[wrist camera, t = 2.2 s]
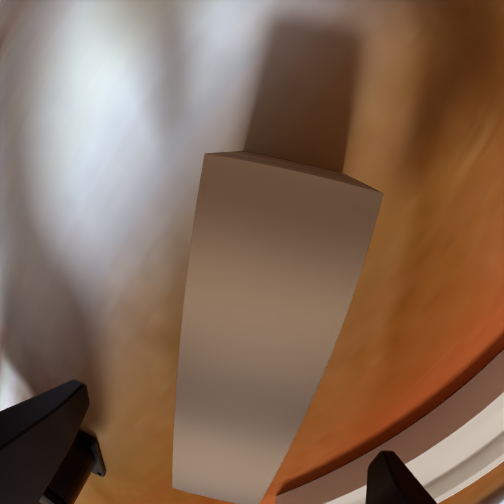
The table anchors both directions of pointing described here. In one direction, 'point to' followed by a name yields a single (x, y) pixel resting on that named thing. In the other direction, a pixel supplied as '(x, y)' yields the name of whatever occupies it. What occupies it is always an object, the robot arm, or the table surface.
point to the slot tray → (430, 446)
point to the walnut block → (261, 313)
